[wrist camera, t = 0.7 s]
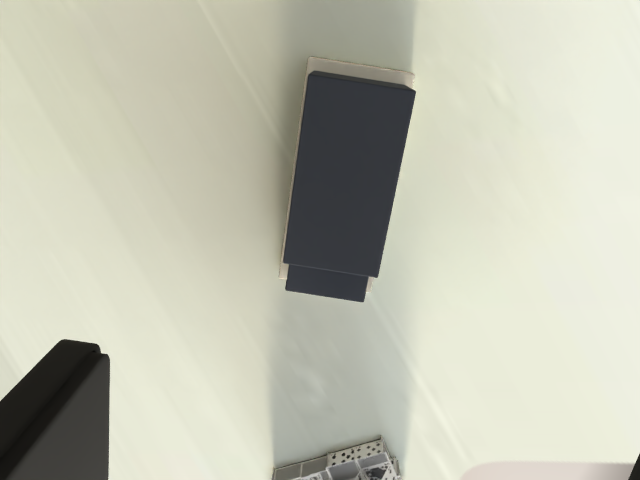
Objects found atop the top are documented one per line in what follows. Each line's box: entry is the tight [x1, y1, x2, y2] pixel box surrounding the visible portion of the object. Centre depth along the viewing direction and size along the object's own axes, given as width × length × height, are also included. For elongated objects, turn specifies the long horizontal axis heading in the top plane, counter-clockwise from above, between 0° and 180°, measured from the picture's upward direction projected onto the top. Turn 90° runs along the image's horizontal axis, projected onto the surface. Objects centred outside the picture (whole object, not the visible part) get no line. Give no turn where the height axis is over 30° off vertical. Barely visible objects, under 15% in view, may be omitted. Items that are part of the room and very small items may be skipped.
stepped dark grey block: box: [279, 57, 416, 302], centre depth 23 cm, size 10×5×5 cm, turn 172°
